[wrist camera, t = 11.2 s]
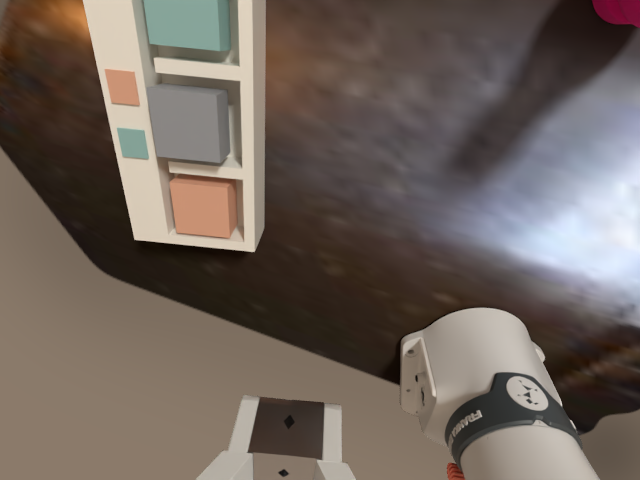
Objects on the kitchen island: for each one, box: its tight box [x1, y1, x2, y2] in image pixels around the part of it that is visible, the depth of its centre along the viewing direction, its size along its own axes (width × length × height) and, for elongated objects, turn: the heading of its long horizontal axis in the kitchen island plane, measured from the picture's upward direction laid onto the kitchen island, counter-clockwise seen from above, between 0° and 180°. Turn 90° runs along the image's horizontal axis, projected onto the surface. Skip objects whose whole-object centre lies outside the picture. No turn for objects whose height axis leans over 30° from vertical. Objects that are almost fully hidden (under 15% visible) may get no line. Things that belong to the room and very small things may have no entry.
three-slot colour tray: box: [83, 0, 266, 252], centre depth 30 cm, size 24×12×5 cm, turn 175°
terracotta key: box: [169, 173, 238, 238], centre depth 33 cm, size 5×5×3 cm
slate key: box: [146, 83, 230, 163], centre depth 28 cm, size 5×5×3 cm
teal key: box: [144, 0, 231, 51], centre depth 25 cm, size 5×5×3 cm
